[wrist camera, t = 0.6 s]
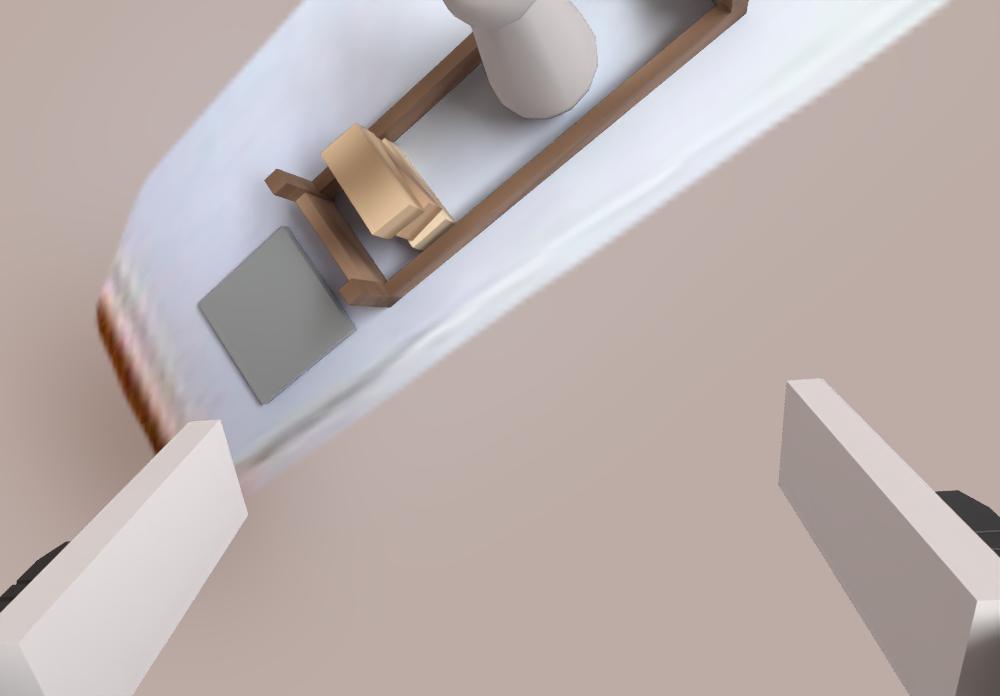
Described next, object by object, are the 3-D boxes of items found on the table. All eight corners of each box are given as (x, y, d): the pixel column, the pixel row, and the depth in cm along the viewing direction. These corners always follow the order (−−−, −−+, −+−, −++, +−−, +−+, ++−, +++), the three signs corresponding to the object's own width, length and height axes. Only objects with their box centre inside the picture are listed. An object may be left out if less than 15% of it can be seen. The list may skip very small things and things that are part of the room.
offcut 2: (442, 209, 36) (428, 202, 34) (412, 240, 37) (397, 236, 35) (380, 139, 37) (363, 129, 35) (352, 171, 38) (333, 163, 36)
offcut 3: (457, 224, 38) (445, 218, 36) (426, 251, 39) (412, 247, 37) (399, 147, 39) (384, 138, 37) (370, 175, 39) (353, 167, 38)
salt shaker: (607, 121, 35) (562, 10, 23) (506, 139, 37) (411, 45, 24) (598, 13, 35) (548, -159, 23) (497, 36, 37) (397, -112, 24)
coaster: (356, 329, 40) (351, 329, 39) (267, 403, 42) (261, 404, 41) (288, 227, 41) (282, 225, 40) (204, 304, 43) (197, 303, 42)
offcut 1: (425, 211, 34) (409, 204, 32) (390, 239, 35) (372, 234, 33) (374, 133, 35) (355, 122, 33) (340, 163, 36) (320, 154, 34)
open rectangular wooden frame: (746, 13, 33) (755, -40, 28) (390, 307, 39) (348, 305, 34) (645, -106, 34) (638, -177, 29) (314, 197, 40) (264, 180, 35)
